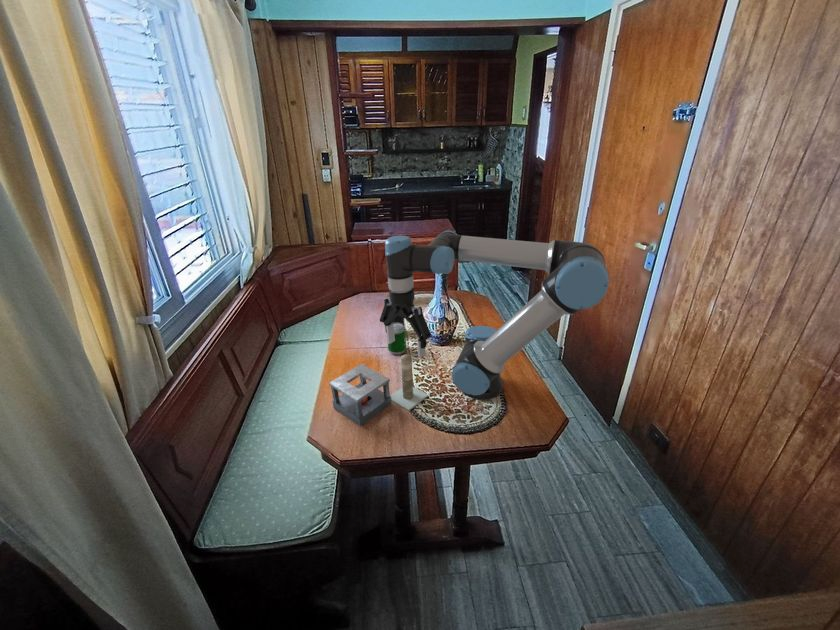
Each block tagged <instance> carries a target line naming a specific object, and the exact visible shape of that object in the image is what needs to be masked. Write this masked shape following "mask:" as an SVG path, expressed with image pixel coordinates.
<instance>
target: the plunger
mask: <svg viewBox="0 0 840 630" xmlns="http://www.w3.org/2000/svg"><path fill="white" fill-rule="evenodd" d="M367 401H368V396H367V397H365V398H364V399H362V400H361V405H363V404H364V403H366V402H367Z"/></svg>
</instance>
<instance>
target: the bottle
mask: <svg viewBox="0 0 840 630" xmlns="http://www.w3.org/2000/svg"><path fill="white" fill-rule="evenodd" d="M389 297H390V296H389ZM392 310H393V306H392V307H391V310H390V313H389V315H390V314H391V312H392ZM391 323H401V324H402V325H404V326H405V318H403V317H400V316H398V315H397V316H396V317H395V319H394V320H393V321H392V322H391Z"/></svg>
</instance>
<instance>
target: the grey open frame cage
mask: <svg viewBox="0 0 840 630" xmlns="http://www.w3.org/2000/svg"><path fill="white" fill-rule="evenodd" d="M358 378H359V380H360V381H359V382H360V383H359V384H357V385H355V386H354V385H353V384H351V382H353V381H354V380H356V379H358ZM367 380H368V382H367ZM390 381H391V380H390V378H388V377H387V376H386V375H383V374H382V373H380V372H378V371H376V370H374V369H372V368H370V367H369V366H368V365H365V364H364V363H360V364H359V365H357V366H355V367H354V368H351V369H350V370H348V371H346V372H345V373H343V374H342V375H340V376H337V378H335V379H333V380H332V381H330V382H329V383H328V384H329V386H330V387H331V393H332V401H331V402H332V408H333V409H335V410H336V411H338V412H339V413H340V414H341V415H343V416H345V417H346V418H348V419H349V420H351V421H352V422H353V423H354V424H356V425H358V426H359V427H362V426H363V425H364V424H367V422H369V421H370V420H371V419H373V418H374V417H376V416H378V414H380V413H382V412H383V411H384V410H386V409H387V408H388V407H390V406H391V405H392V404H393V401H392V400H391V396H390V395H391V394H390V383H389V382H390ZM380 388H382V390H383V391H381V390H380ZM339 393H341V395H339ZM367 396H368V401H367V402H366V403H364V404H363V405H361V400H362V399H364V398H365V397H367Z"/></svg>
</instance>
